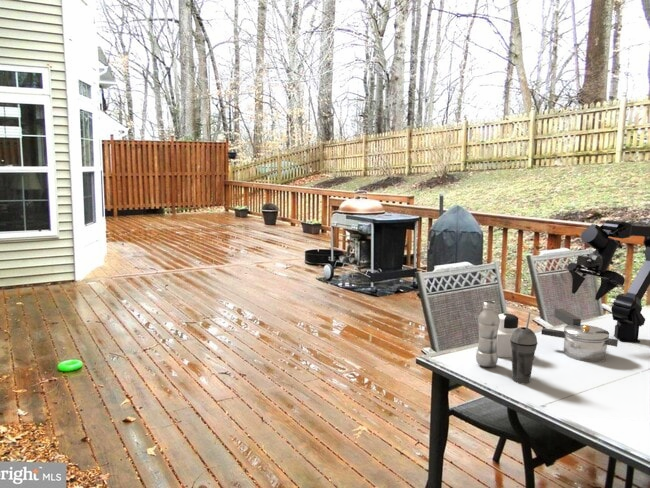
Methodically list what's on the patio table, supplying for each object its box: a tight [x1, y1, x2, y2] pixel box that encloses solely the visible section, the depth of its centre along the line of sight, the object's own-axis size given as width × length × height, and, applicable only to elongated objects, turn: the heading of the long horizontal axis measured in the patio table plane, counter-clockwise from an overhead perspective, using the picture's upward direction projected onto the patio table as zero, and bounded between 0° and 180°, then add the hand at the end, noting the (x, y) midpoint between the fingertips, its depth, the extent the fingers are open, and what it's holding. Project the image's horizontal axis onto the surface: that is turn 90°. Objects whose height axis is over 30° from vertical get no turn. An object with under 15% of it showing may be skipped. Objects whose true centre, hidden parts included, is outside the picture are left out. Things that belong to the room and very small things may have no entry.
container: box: [497, 313, 519, 358], centre depth 167 cm, size 8×8×13 cm
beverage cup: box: [510, 311, 538, 385], centre depth 145 cm, size 7×7×20 cm
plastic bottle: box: [475, 300, 500, 368], centre depth 156 cm, size 6×7×20 cm
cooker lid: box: [553, 308, 610, 341], centre depth 172 cm, size 26×13×3 cm, turn 2°
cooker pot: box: [540, 327, 619, 363], centre depth 168 cm, size 22×13×7 cm, turn 57°
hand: (584, 296), depth 173 cm, fingers open, 9 cm apart
